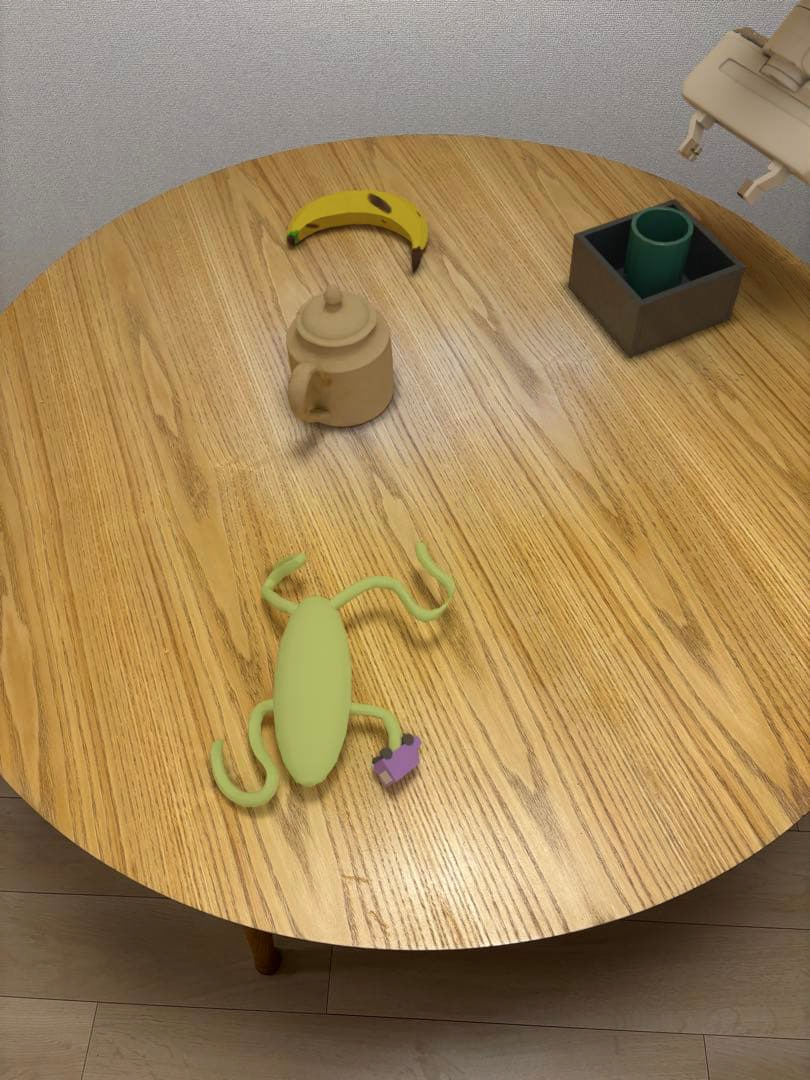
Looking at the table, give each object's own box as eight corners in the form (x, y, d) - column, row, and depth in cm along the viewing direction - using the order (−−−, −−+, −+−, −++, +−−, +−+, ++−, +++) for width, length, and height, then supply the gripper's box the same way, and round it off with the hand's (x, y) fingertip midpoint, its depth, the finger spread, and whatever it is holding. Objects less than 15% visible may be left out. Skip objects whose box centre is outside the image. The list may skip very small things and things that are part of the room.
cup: (666, 274, 119) (682, 203, 111) (683, 311, 115) (701, 240, 107) (612, 281, 119) (624, 210, 111) (628, 319, 115) (641, 248, 107)
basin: (664, 251, 123) (675, 198, 116) (730, 318, 115) (746, 266, 109) (567, 286, 120) (574, 233, 113) (629, 357, 112) (639, 306, 106)
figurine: (463, 572, 97) (464, 539, 92) (412, 841, 82) (410, 817, 77) (280, 547, 99) (272, 513, 95) (198, 803, 84) (183, 778, 80)
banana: (275, 195, 125) (299, 286, 119) (408, 163, 126) (440, 251, 120) (281, 221, 129) (305, 310, 123) (410, 189, 130) (441, 276, 124)
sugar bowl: (401, 450, 106) (394, 347, 94) (297, 460, 106) (276, 357, 94) (390, 351, 115) (383, 244, 102) (295, 360, 114) (275, 254, 102)
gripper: (725, 5, 105) (638, 121, 110) (872, 89, 94) (768, 213, 99) (748, 35, 110) (664, 145, 115) (891, 118, 99) (790, 236, 104)
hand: (713, 177), depth 107 cm, fingers open, 8 cm apart
